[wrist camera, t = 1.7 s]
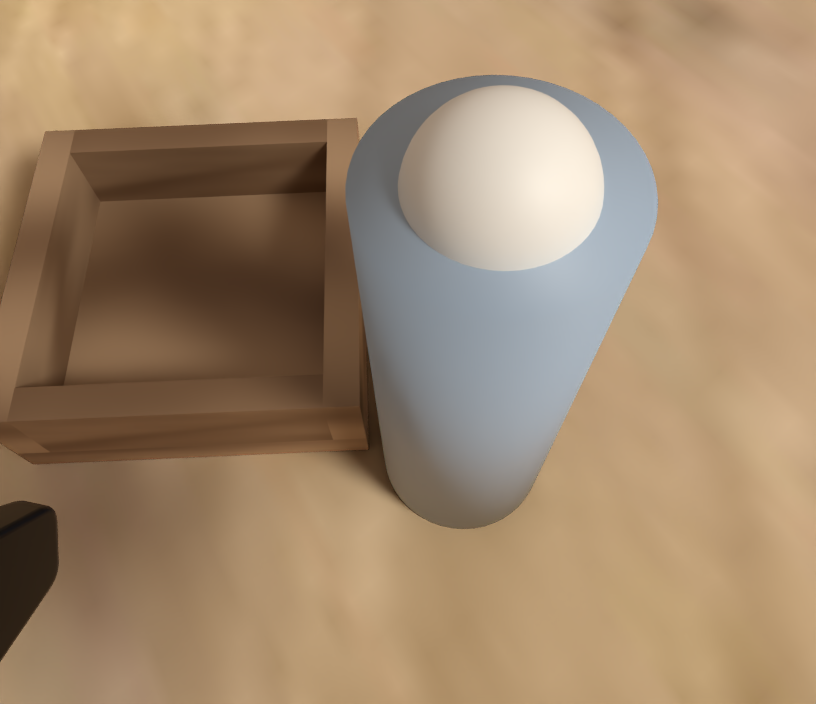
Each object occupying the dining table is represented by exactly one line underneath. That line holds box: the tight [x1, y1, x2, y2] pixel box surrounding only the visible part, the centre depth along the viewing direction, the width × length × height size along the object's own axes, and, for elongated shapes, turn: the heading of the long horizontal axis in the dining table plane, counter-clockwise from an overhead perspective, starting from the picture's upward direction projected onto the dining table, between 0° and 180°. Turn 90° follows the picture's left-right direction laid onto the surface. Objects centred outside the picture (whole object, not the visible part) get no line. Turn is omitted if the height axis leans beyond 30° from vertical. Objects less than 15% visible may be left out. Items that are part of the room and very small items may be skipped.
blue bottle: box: [345, 75, 658, 529], centre depth 16 cm, size 5×5×14 cm
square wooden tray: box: [0, 118, 369, 464], centre depth 23 cm, size 10×10×4 cm
